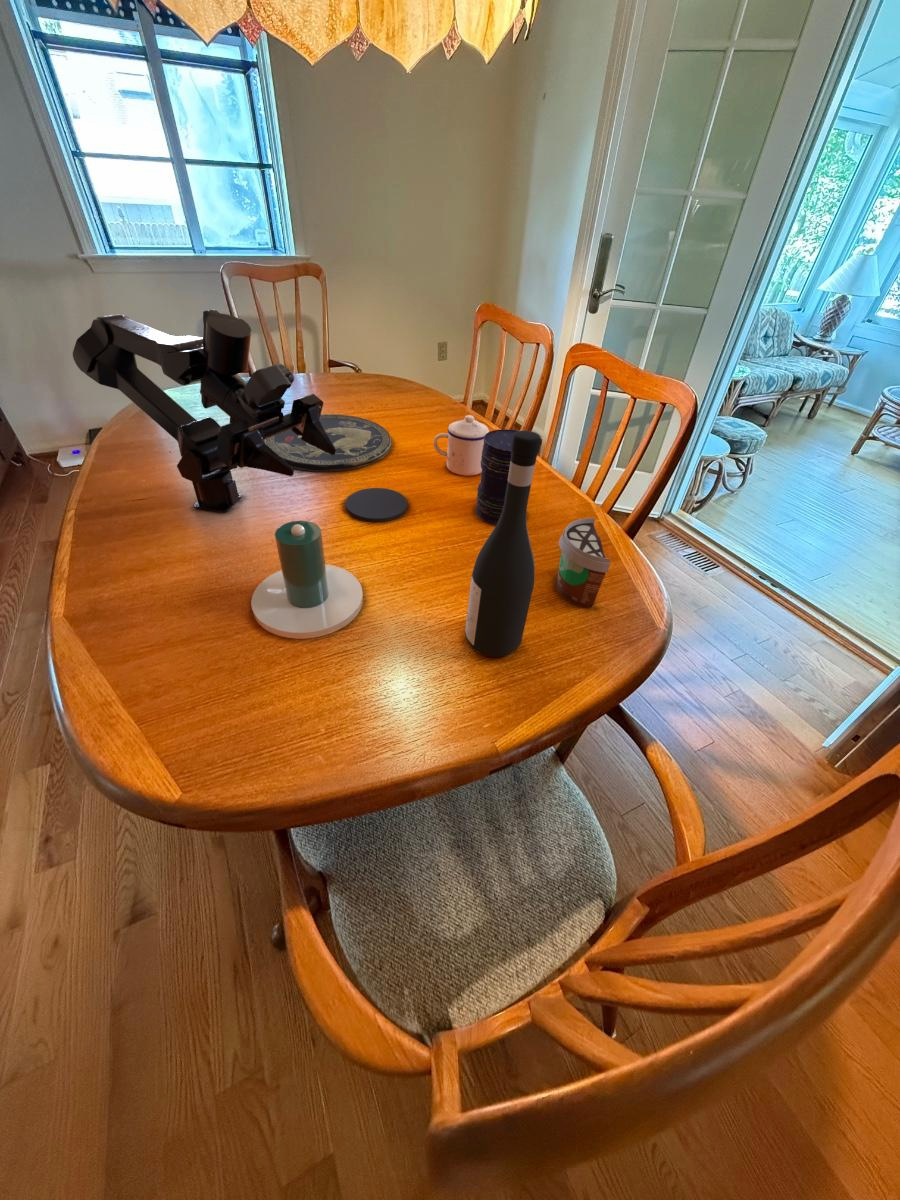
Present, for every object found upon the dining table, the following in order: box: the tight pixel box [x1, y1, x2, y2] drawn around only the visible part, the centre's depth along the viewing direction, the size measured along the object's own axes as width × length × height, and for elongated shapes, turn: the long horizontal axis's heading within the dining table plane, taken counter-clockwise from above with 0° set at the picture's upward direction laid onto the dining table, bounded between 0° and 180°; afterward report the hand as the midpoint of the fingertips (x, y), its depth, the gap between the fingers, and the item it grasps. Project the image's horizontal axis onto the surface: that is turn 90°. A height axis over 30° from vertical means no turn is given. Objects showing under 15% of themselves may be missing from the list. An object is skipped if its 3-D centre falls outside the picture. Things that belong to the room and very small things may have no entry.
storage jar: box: [475, 428, 518, 526], centre depth 93 cm, size 10×10×15 cm
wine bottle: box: [464, 429, 542, 658], centre depth 61 cm, size 8×8×30 cm
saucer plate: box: [250, 563, 364, 640], centre depth 74 cm, size 16×16×1 cm
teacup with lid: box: [433, 414, 490, 477], centre depth 109 cm, size 12×9×12 cm
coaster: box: [344, 487, 409, 523], centre depth 97 cm, size 12×12×1 cm
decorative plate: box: [263, 413, 392, 473], centre depth 117 cm, size 30×2×30 cm
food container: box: [555, 517, 612, 609], centre depth 78 cm, size 12×6×10 cm, turn 178°
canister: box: [274, 520, 329, 608], centre depth 70 cm, size 6×6×12 cm
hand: (314, 462), depth 75 cm, fingers open, 9 cm apart
